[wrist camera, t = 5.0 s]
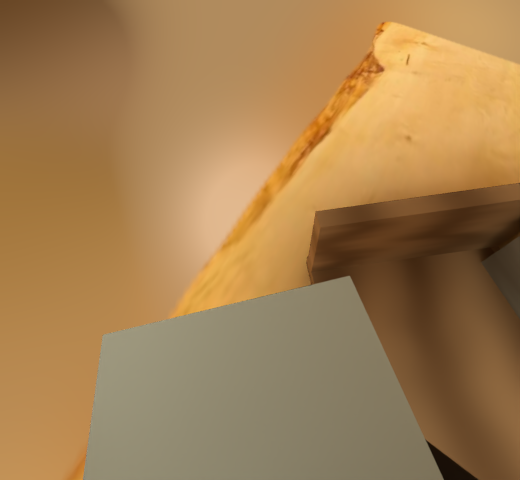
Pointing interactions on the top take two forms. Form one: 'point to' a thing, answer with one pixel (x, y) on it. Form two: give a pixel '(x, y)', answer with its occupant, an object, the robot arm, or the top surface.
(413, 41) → the top surface
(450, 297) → the wooden l-bracket
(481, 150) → the top surface
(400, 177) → the top surface
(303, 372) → the grey upright block
